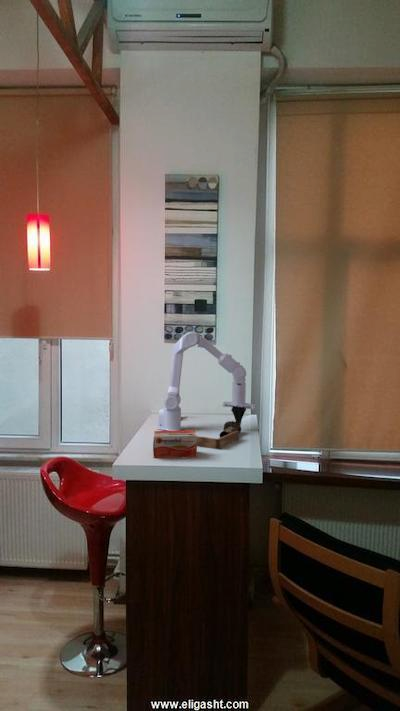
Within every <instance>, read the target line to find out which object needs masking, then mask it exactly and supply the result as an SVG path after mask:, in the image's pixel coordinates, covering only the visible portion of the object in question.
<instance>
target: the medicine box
mask: <svg viewBox="0 0 400 711" xmlns="http://www.w3.org/2000/svg"><path fill="white" fill-rule="evenodd" d="M197 436H198V435H197V433H196V430H193V429H192V430H191V429H190V430H189V429H187V430H184V429H183V430H178V431H168V430H154V434H153V442H152V446H153V447H152V452H153V458H154V459H168V458H169V459H170V458H172V459H173V458H176V459H177V458H182V457H186V458H196V457H197V453H198V446H197Z"/></svg>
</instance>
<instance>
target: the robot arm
mask: <svg viewBox="0 0 400 711" xmlns="http://www.w3.org/2000/svg"><path fill="white" fill-rule="evenodd" d="M196 345H197V347H198V348H201V349H203V348H204V349H205V351H207V352H208V353H209V354H211V355H212V356H213V357H215V358H216V359H217V360H218V361H217V362H218V365H220V366H221V367H222V368H224V370H226V371H227V373H230V374H232V377H233V378H232V379H233V380H232V393H231V394H232V395H231V396H232V398H231V400H232V401H223V402H222V407H224V408H231V411H230V412H232V414H233V416H234V419H235V420H234V421H236V422H237V423H238V424H239V423H240V424H241V425H242V420H243V417H244V415H245V413H246V411H247V409H249V410H256V404H255V403H254V404H253V403H248V402H247V403H246V396H247V395H246V393H247V392H246V388H247V387H246V386H247V385H246V376H247V371H246V368H245V367H244V366H243V365H242V364H241V363H240V361H239V362H238V361H237V360H235V359H234V358H233V355H231V354H229V353H223V352H221V351H220V350H219V349H218V348H217V347H216V346H215V345H214V344H212V343H211V342H210V340H208V339H206V338H205V337H203V336H202V335H199V334H198V332H196V331H188V332H186V333H185V334H183V335H181V337H180V338H179V339H178V341H177V342H175V344H174V345H173V346H172V354H171V362H170V363H171V364H170V365H171V366H170V371H169V372H170V374H169V382H168V389H167V394H166V397H165V399H164V402H163V404H164V407H163V408H160V410H159V411H158V415H157V418H158V424H157V426H158V428H157V430H159V431H182V430H184V429H185V427H184V426H182V423H181V422H182V420H181V419H182V409H181V407H180V405H179V404H180V403H181V396H180V386H181V379H182V378H181V376H182V368H183V357H184V353H185V351H187V350H189V349H190V348H193V347H195V346H196Z"/></svg>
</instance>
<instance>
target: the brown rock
mask: <svg viewBox="0 0 400 711" xmlns="http://www.w3.org/2000/svg"><path fill="white" fill-rule="evenodd" d="M241 425H242V423H241V424H240V423H239V424H238V423H237V422H236V420H232V421H230V420H229V421H227V422H226V421H225V423H224V425H223V429H222V431H221V432H220V433H219V438H221V437H223V436H225V435H227V434H230V433H232V432H234V431H239V435H240V433H241V432H242V426H241Z"/></svg>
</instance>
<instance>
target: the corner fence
mask: <svg viewBox="0 0 400 711" xmlns="http://www.w3.org/2000/svg"><path fill="white" fill-rule="evenodd" d="M239 435H240V434H239V431H234V432H232V433H230V434H227V435H225V436H223V437H221V438H220V437H219V438H213V437H205V436H200V435H199V436H198V435H196V436H197V447H202V448H206V449H207V448H209V449H214V450H220V449H223V448H225V447H226V446H228V445H229V446H230V445H231V444H232V443H235V442H237V441H239V439H240V436H239Z"/></svg>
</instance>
